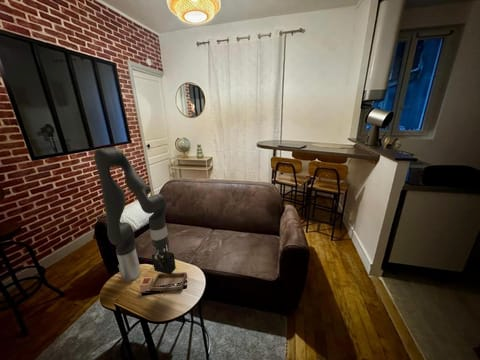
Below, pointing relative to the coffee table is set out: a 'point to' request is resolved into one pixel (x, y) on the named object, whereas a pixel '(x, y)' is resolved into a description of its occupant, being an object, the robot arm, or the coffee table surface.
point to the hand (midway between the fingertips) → (164, 264)
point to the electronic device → (165, 263)
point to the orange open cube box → (146, 284)
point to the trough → (169, 282)
